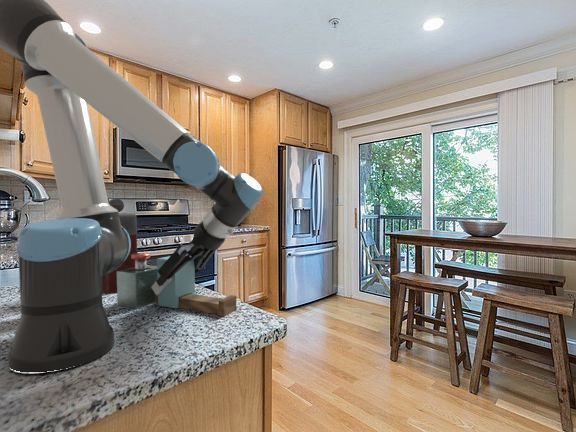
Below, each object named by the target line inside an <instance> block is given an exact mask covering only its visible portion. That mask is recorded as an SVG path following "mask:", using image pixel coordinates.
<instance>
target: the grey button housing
mask: <svg viewBox="0 0 576 432" xmlns="http://www.w3.org/2000/svg"><path fill="white" fill-rule="evenodd" d="M156 281H157V265H149V264H147V270H143V271H135V267H134V268H129V269H124V270H120V271H117V293H116V297H117V299H116V300H117V303H116V304H117V307H124V308H127V309H128V308H129V309H132V310H138V309H142V308H144V307H147V306H150V305H152V304H155V292H154V291H153V289H152V288H151V287H152V286H153V284H154V283H155V282H156Z"/></svg>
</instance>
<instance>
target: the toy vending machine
mask: <svg viewBox="0 0 576 432" xmlns="http://www.w3.org/2000/svg"><path fill="white" fill-rule="evenodd" d="M108 203H109V205H110V206H112V207H113V208H115V209H116V210H118V214H119V219H120V223H121V226H122V227H123V228H124V229H125V230H126V231H127V233H128V234H129V237H130V241H131V248H130V252H129V255H128V257H127V258H126V260H125V261H124V262H123V263H122V264H121V265H120V266H119V267H118V268H117V269H116V270H114V271H112V272H111V273H108V274H105V275H104V276H102V293H104V294H105V295H111V294H115V293H116V294H117V271H120V270H124V269H129V268H134V267H135V259H131V254H135V253H138V225H137V224H138V223H137V221H138V220H137V215H136V213H131V212H130V213H129V212H128V213H127V212H122V211H123V210H124V208H125V203H124V201H123V200H122V199H120V198H111V199H109V200H108ZM120 212H121V213H120Z"/></svg>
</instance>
